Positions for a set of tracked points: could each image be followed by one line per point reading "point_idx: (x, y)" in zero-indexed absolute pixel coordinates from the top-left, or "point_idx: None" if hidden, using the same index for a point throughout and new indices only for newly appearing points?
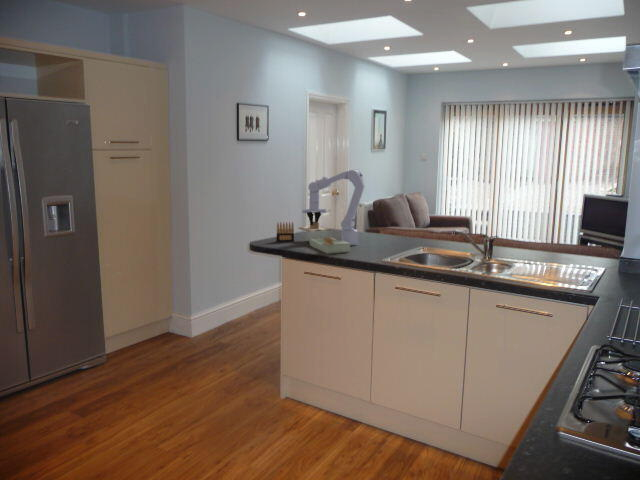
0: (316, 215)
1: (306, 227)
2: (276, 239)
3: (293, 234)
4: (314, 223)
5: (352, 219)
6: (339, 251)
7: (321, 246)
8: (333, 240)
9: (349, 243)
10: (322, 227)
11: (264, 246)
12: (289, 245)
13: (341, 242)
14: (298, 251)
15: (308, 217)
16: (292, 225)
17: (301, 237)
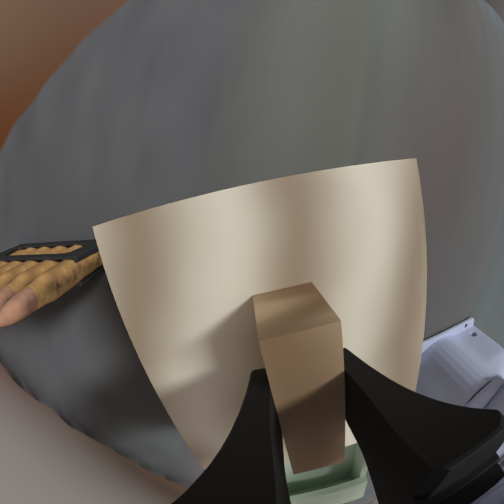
0: (388, 492)
1: (197, 313)
2: (13, 248)
3: (83, 283)
4: (290, 459)
5: (500, 463)
6: (315, 488)
7: None
8: None
9: (359, 497)
10: (402, 328)
11: (14, 367)
12: (101, 379)
13: (339, 497)
14: (161, 470)
15: (214, 457)
16: (24, 316)
17: (203, 67)
